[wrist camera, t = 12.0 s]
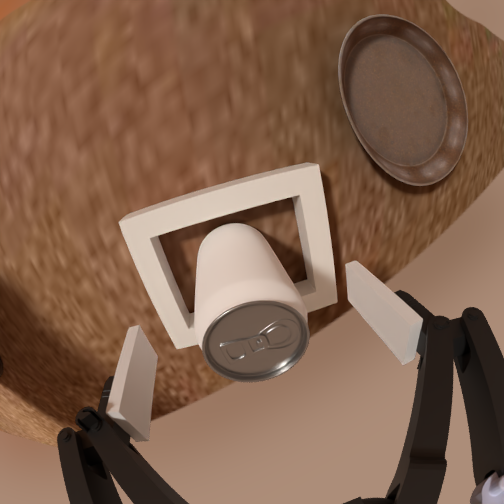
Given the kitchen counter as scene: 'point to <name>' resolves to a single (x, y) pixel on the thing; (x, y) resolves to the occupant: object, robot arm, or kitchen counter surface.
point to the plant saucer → (403, 99)
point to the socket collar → (222, 203)
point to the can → (247, 307)
